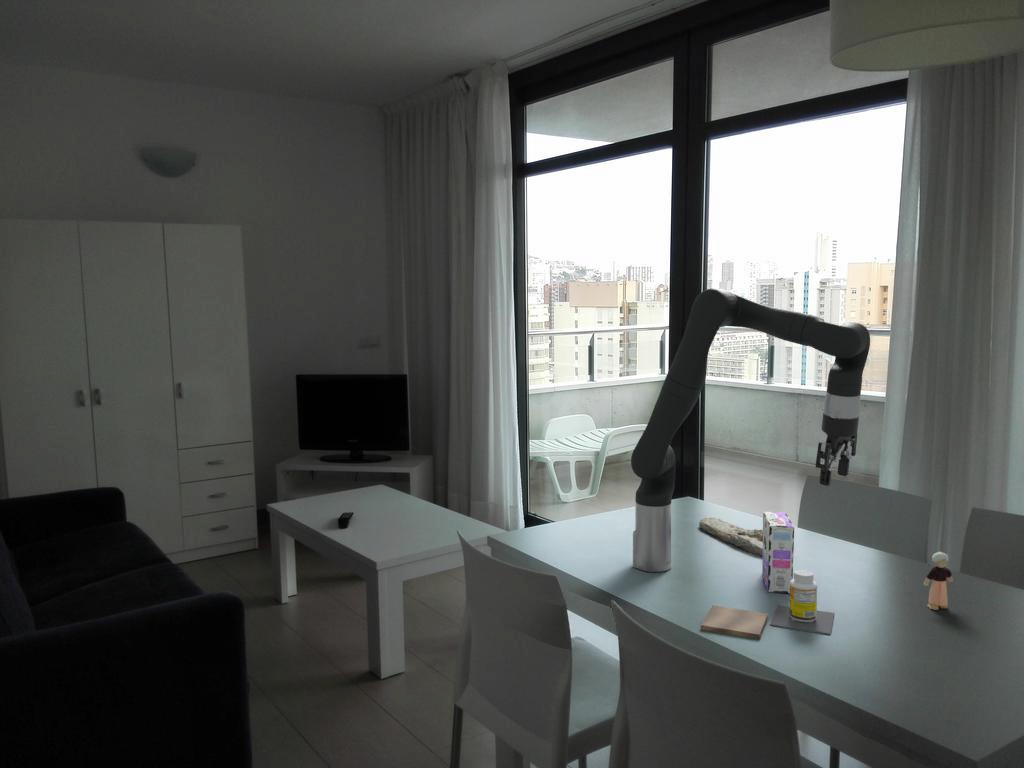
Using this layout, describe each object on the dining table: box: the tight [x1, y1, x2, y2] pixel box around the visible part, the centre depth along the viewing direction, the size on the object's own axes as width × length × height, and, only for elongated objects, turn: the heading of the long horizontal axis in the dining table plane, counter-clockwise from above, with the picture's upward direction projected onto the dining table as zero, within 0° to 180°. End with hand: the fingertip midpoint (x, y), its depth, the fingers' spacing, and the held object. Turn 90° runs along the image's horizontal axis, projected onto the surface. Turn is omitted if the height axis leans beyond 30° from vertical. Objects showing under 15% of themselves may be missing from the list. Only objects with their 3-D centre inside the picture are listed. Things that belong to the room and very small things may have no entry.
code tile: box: [769, 604, 835, 636], centre depth 172 cm, size 12×12×1 cm
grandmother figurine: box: [923, 551, 954, 611], centre depth 178 cm, size 8×4×13 cm, turn 117°
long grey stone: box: [698, 517, 763, 556], centre depth 229 cm, size 35×5×10 cm
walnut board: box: [700, 605, 769, 640], centre depth 170 cm, size 12×12×1 cm
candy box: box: [761, 511, 795, 594], centre depth 193 cm, size 14×6×16 cm, turn 168°
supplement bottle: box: [789, 569, 818, 622], centre depth 171 cm, size 6×6×10 cm
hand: (833, 479), depth 182 cm, fingers open, 8 cm apart
